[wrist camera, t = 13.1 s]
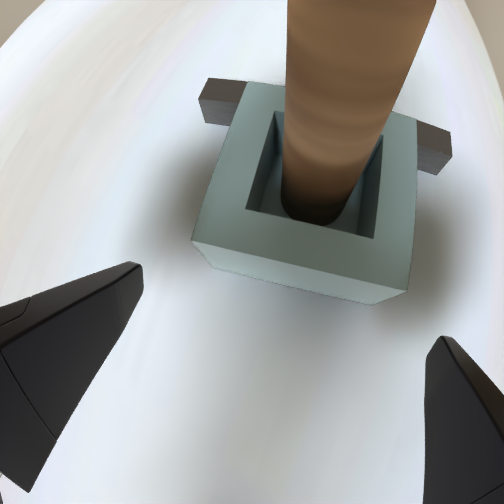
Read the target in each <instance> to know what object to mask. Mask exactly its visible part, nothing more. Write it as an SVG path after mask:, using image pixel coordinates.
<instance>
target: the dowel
mask: <svg viewBox="0 0 504 504" xmlns="http://www.w3.org/2000/svg"><path fill="white" fill-rule="evenodd" d="M435 4H436V0H288V5H287V52H286V85H285V112H284V135H283V157H282V177H281V203H282V206H283V208H284V210H285V212H286V213H287V214H288V216H289V217H290V218H291V219H293V220H296V221H301V222H305V223H309V224H313V225H318V226H326V225H329V224H330V223H332V222H334V221H335V220H336V219H337V218H338V217H339V216H340V215H341V213H342V211H343V209H344V207H345V205H346V203H347V201H348V199H349V197H350V195H351V193H352V191H353V190H354V188H355V186H356V184H357V182H358V180H359V178H360V176H361V174H362V172H363V170H364V167H365V165H366V163H367V161H368V159H369V157H370V155H371V153H372V151H373V149H374V147H375V145H376V143H377V141H378V139H379V136H380V134H381V132H382V130H383V128H384V126H385V124H386V121H387V119H388V117H389V115H390V113H391V110H392V108H393V106H394V104H395V102H396V99H397V97H398V95H399V93H400V90H401V88H402V86H403V83H404V81H405V79H406V77H407V74H408V72H409V70H410V67H411V65H412V62H413V60H414V58H415V55H416V53H417V50H418V48H419V45H420V43H421V40H422V38H423V35H424V33H425V30H426V28H427V25H428V23H429V20H430V17H431V15H432V12H433V10H434V7H435Z"/></svg>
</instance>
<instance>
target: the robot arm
mask: <svg viewBox="0 0 504 504" xmlns="http://www.w3.org/2000/svg"><path fill="white" fill-rule="evenodd" d="M143 289H144V284H143V269H142V266H141V265H140V264H138V263H134V262H131V261H128V262H125V263H122V264H119V265H116V266H113V267H111V268H108V269H105V270H102V271H99V272H96V273H93V274H91V275H88V276H85V277H82V278H79V279H77V280H74V281H71V282H68V283H65V284H63V285H60V286H57V287H54V288H52V289H49V290H46V291H44V292H41V293H38V294H35V295H33V296H32V297H27V298H25V299H22V300H19V301H17V302H14V303H11V304H8V305H5V306H2V307H0V478H1V476H2V474H3V475H5V476H6V477H7V478H9V479H10V480H11V481H12V482H14V483H15V484H16V485H18V486H19V487H20V488H22V489H23V490H25V491H26V492H27V493H29V492H30V491H31V489H32V487H33V485H34V483H35V481H36V479H37V477H38V475H39V473H40V472H41V470H42V468H43V466H44V464H45V462H46V460H47V458H48V457H49V455H50V453H51V451H52V449H53V447H54V446H55V444H56V442H57V440H58V438H59V436H60V435H61V433H62V431H63V429H64V428H65V426H66V424H67V422H68V421H69V419H70V417H71V415H72V414H73V412H74V410H75V409H76V407H77V405H78V403H79V402H80V400H81V398H82V397H83V395H84V393H85V392H86V390H87V388H88V387H89V385H90V384H91V382H92V380H93V379H94V377H95V375H96V374H97V372H98V371H99V369H100V367H101V366H102V364H103V363H104V361H105V359H106V358H107V356H108V355H109V353H110V352H111V350H112V348H113V347H114V345H115V344H116V342H117V341H118V339H119V337H120V336H121V334H122V333H123V331H124V329H125V327H126V325H127V323H128V321H129V319H130V317H131V315H132V313H133V311H134V309H135V307H136V305H137V303H138V301H139V299H140V297H141V296H142V293H143ZM424 415H425V475H424V493H423V504H504V395H503V394H502V392H501V391H500V390H499V389H498V388H497V386H496V385H495V384H494V383H493V382H492V381H491V379H490V378H489V377H488V376H487V375H486V374H485V373H484V371H483V370H482V369H481V368H480V367H479V366H478V365H477V364H476V363H475V361H474V360H473V359H472V358H471V357H470V356H469V355H468V354H467V353H466V352H465V350H464V349H463V348H462V347H461V346H460V345H459V344H458V343H457V342H456V341H455V340H454V339H453V338H452V337H448V336H440V337H439V338H438V339H437V340H436V342H435V344H434V345H433V347H432V348H431V350H430V351H429V353H428V355H427V357H426V363H425V397H424ZM0 504H3V501H2V497H1V493H0Z"/></svg>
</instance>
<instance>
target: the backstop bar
mask: <svg viewBox="0 0 504 504" xmlns="http://www.w3.org/2000/svg"><path fill="white" fill-rule="evenodd" d="M247 83H248V82H246V81H237V80H228V79H217V78H208V80H207V82H206V84H205V86H204V88H203V90H202V92H201V94H200V96H199V98H198V100H199V104H200V107H201V110H202V113H203V117H204V120H205V123H212V124H219V125H226V126H231V123H232V121H233V118H234V115H235V113H236V110H237V108H238V105H239V103H240V100H241V98H242V95H243V93H244V90H245V88H246V85H247ZM416 122H417V169H419V170H422V171H425V172H428V173H431V174H434V175H437V174H438V173H439V172H440V171H441V169H442V168H443V167H444V166H445V165H446V164H447V162H448V161H449V160H450V159H451V158H452V146H451V135H450V132H449V131H446V130H443V129H441V128H438V127H435V126H433V125H430V124H427V123H424V122H421V121H418V120H416Z"/></svg>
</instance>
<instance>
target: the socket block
mask: <svg viewBox="0 0 504 504" xmlns="http://www.w3.org/2000/svg"><path fill="white" fill-rule="evenodd" d="M284 112H285V86H279V85H272V84H265V83H258V82H250V81H248V83H247V85H246V88H245V90H244V93H243V95H242V98H241V100H240V103H239V105H238V108H237V110H236V113H235V115H234V118H233V121H232V123H231V126H230V128H229V131H228V134H227V136H226V139H225V142H224V144H223V147H222V150H221V153H220V155H219V158H218V161H217V164H216V166H215V169H214V172H213V175H212V178H211V181H210V183H209V186H208V189H207V192H206V195H205V198H204V201H203V204H202V207H201V210H200V213H199V216H198V219H197V222H196V225H195V228H194V231H193V234H192V237H191V242H192V243H193V244H194V245H195V246H196V248H197V249H198V250H199V251H200V253H201V254H202V255H203V256H204V258H205V259H206V260H207V261H208V262H209V264H210V265H211V266H212V267H213V268H216V269H220V270H224V271H228V272H232V273H236V274H240V275H244V276H248V277H252V278H257V279H261V280H265V281H269V282H273V283H277V284H281V285H286V286H290V287H294V288H298V289H302V290H307V291H311V292H315V293H319V294H324V295H328V296H332V297H337V298H341V299H346V300H350V301H354V302H359V303H363V304H368V305H374V304H377V303H379V302H382V301H384V300H387V299H390V298H392V297H395V296H397V295H400V294H402V293H405V292H407V288H408V281H409V274H410V266H411V258H412V248H413V238H414V226H415V212H416V193H417V122H416V119H414V118H411V117H408V116H405V115H402V114H399V113H395V112H392V111H391V113H390V115H389V117H388V119H387V121H386V124H385V126H384V128H383V130H382V132H381V134H380V136H379V139H378V141H377V143H376V145H375V147H374V149H373V151H372V153H371V155H370V157H369V159H368V161H367V163H366V165H365V167H364V170H363V172H362V174H361V176H360V178H359V180H358V182H357V184H356V186H355V188H354V190H353V191H352V193H351V195H350V197H349V199H348V201H347V203H346V205H345V207H344V209H343V211H342V213H341V215H340V216H339V217H338V218H337V219H336V220H335V221H334V222H332V223H330V224H329V225H326V226H318V225H313V224H309V223H305V222H301V221H296V220H293V219H291V218H290V217H289V216H288V214H287V213H286V212H285V210H284V208H283V206H282V203H281V177H282V157H283V135H284Z"/></svg>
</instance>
